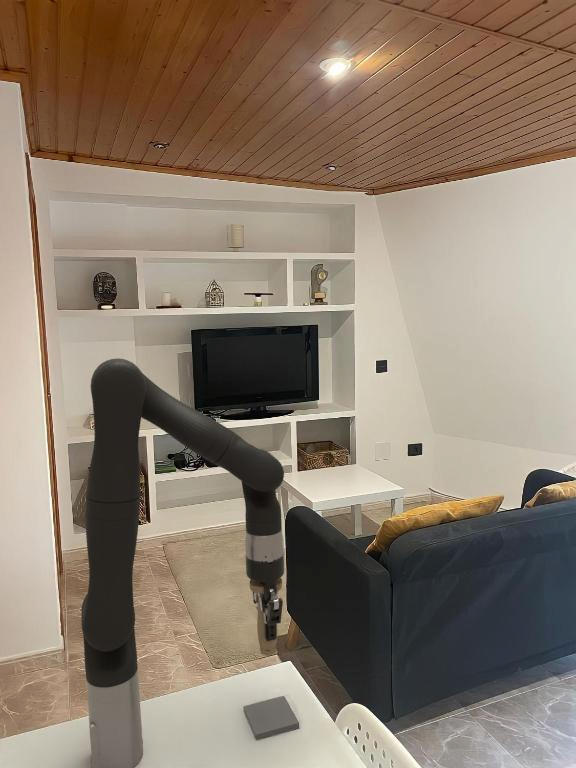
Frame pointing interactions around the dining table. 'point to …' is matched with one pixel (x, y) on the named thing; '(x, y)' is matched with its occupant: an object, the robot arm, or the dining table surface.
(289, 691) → the dining table surface
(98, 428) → the robot arm
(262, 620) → the handle
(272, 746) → the dining table surface
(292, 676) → the dining table surface
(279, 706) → the plate
